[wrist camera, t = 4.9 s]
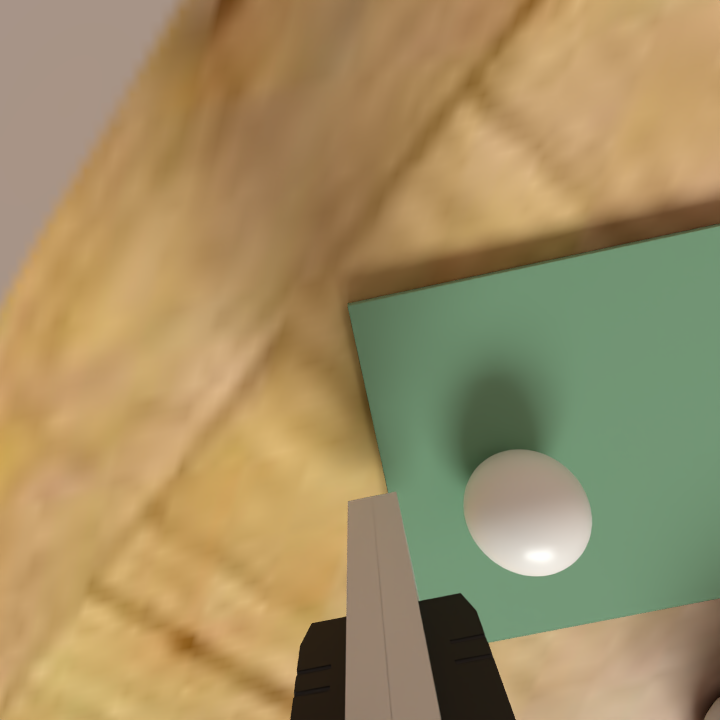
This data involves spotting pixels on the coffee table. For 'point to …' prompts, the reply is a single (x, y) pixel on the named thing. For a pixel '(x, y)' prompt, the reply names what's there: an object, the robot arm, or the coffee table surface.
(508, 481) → the ball
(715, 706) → the cup
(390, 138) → the coffee table surface
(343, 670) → the robot arm
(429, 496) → the green mat
